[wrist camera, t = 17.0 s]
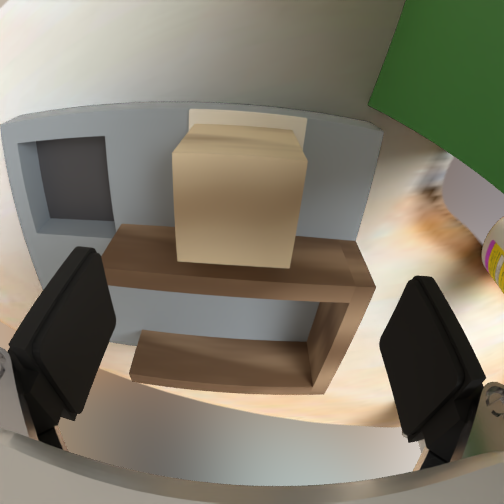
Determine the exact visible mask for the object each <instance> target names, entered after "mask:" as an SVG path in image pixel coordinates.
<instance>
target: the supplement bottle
mask: <svg viewBox="0 0 504 504" xmlns="http://www.w3.org/2000/svg"><path fill="white" fill-rule="evenodd" d="M482 262H483V265H484V267H485V268H486V270H487V271H488V273H489V274H490V275H491V277H492V278H493V279H494V281H495V282H496V283H497V285H498V286H499V288H500V289H501V290H502V292H503V293H504V217H502V218H501V219H500V220H499V221H498V222H497V223H496V224H495V225H494V226H493V227H492V229H491V230H490V231H489V233H488V235H487V237H486V239H485V241H484V244H483V248H482Z"/></svg>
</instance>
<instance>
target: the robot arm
mask: <svg viewBox="0 0 504 504" xmlns="http://www.w3.org/2000/svg"><path fill="white" fill-rule="evenodd" d="M115 326H116V315H115V311H114V308H113V304H112V300H111V296H110V292H109V288H108V284H107V280H106V275H105V271H104V267H103V262H102V257H101V255H100V254H99V253H97V252H96V250H95V248H92V247H82V246H77V247H75V248H74V250H73V251H72V252H71V253H70V255H69V256H68V257H67V259H66V260H65V261H64V262H63V264H62V265H61V266H60V268H59V269H58V271H57V272H56V273H55V275H54V276H53V277H52V279H51V280H50V281H49V283H48V284H47V286H46V287H45V289H44V290H43V291H42V293H41V294H40V296H39V297H38V299H37V300H36V302H35V303H34V305H33V306H32V308H31V309H30V311H29V312H28V314H27V315H26V317H25V318H24V320H23V321H22V323H21V325H20V326H19V328H18V329H17V331H16V333H15V334H14V336H13V338H12V339H11V341H10V343H9V346H10V348H9V350H8V352H7V351H6V350H5V349H3V348H1V347H0V504H504V385H503V384H500V383H498V382H490V383H488V384H486V385H485V386H484V387H483V384H482V382H483V381H484V380H485V379H486V376H485V374H484V372H483V370H482V368H481V365H480V363H479V361H478V359H477V357H476V355H475V353H474V351H473V349H472V347H471V345H470V343H469V341H468V339H467V337H466V335H465V333H464V331H463V329H462V327H461V325H460V324H459V322H458V320H457V318H456V316H455V314H454V313H453V311H452V309H451V307H450V305H449V304H448V302H447V300H446V299H445V297H444V295H443V293H442V292H441V290H440V288H439V287H438V285H437V283H436V282H435V280H434V279H433V278H432V277H429V276H415V277H413V279H412V280H409V281H408V283H407V285H406V287H405V289H404V291H403V294H402V296H401V298H400V300H399V302H398V304H397V306H396V308H395V310H394V312H393V314H392V316H391V318H390V320H389V322H388V324H387V326H386V328H385V330H384V332H383V334H382V336H381V338H380V343H379V347H380V351H381V354H382V357H383V361H384V364H385V368H386V371H387V374H388V378H389V382H390V385H391V389H392V392H393V396H394V400H395V404H396V408H397V411H398V415H399V419H400V423H401V428H402V435H403V436H404V437H406V438H408V442H409V443H410V442H415V441H418V442H419V446H420V450H421V456H420V458H419V460H418V462H417V464H416V466H415V468H414V469H413V471H412V472H408V473H404V474H399V475H393V476H388V477H382V478H376V479H370V480H363V481H356V482H346V483H336V484H324V485H308V486H245V485H230V484H229V485H228V484H218V483H208V482H199V481H191V480H184V479H177V478H170V477H165V476H159V475H154V474H149V473H144V472H139V471H135V470H131V469H127V468H122V467H118V466H114V465H111V464H107V463H103V462H100V461H97V460H93V459H90V458H86V457H83V456H80V455H77V454H74V453H71V452H69V451H68V449H67V446H66V444H65V442H64V439H63V437H62V434H61V431H60V429H59V426H58V423H59V420H60V417H63V418H66V419H69V420H72V421H75V419H76V416H77V414H80V413H81V412H82V411H83V409H84V405H85V403H86V400H87V397H88V395H89V392H90V389H91V386H92V384H93V381H94V378H95V376H96V373H97V371H98V368H99V366H100V363H101V361H102V358H103V356H104V353H105V351H106V348H107V346H108V343H109V341H110V339H111V336H112V334H113V331H114V329H115Z"/></svg>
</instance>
